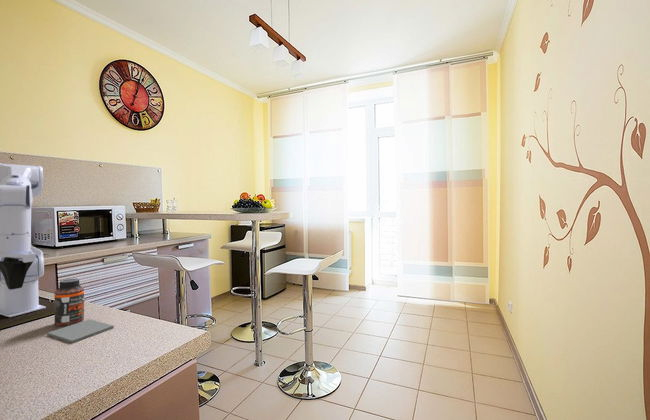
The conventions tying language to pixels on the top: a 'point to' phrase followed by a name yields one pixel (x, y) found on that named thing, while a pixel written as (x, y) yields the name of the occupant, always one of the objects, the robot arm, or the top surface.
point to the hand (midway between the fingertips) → (15, 288)
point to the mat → (80, 330)
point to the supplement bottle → (69, 303)
